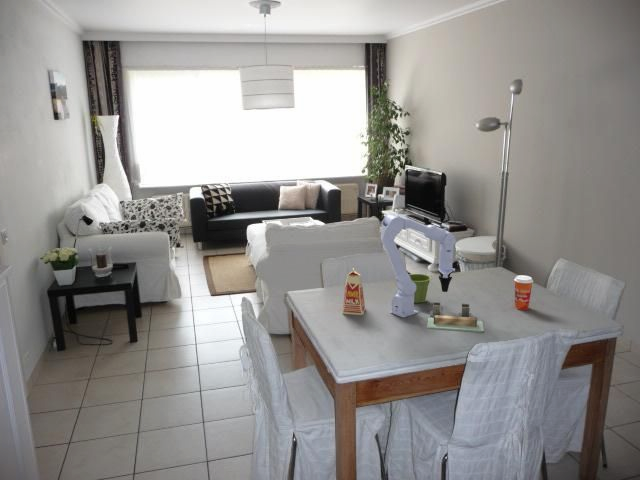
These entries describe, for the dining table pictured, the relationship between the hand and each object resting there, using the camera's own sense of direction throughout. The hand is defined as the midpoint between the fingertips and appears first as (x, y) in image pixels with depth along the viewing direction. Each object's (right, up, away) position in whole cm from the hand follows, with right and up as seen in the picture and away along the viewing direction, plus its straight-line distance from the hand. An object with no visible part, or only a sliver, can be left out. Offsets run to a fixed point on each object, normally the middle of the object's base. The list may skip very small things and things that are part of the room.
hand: (444, 288), depth 233 cm
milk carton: (-40, -10, +2) cm, 41 cm away
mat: (0, -14, -16) cm, 21 cm away
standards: (+1, -11, -6) cm, 12 cm away
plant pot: (-10, -7, +13) cm, 18 cm away
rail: (0, -13, -16) cm, 21 cm away
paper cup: (+34, -9, +2) cm, 35 cm away
